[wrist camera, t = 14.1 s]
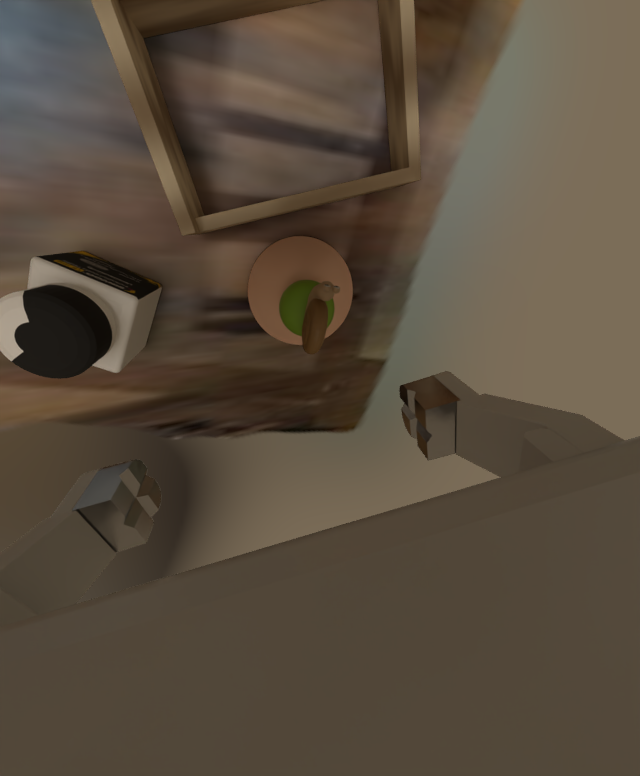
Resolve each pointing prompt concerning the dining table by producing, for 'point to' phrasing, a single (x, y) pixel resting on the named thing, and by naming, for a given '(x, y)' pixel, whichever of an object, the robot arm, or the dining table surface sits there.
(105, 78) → the dining table surface
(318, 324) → the snail figurine
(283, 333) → the tan disc
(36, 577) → the robot arm
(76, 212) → the dining table surface
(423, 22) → the dining table surface
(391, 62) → the cold frame
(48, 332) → the medicine bottle
